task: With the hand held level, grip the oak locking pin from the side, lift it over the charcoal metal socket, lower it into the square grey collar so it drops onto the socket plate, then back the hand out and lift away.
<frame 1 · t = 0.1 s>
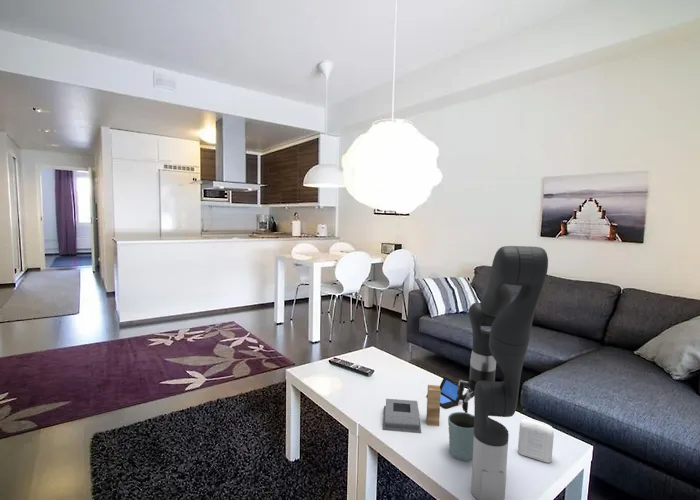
hand: (479, 412, 120), 17 cm above the table, tool pointing down, fingers open, 8 cm apart
teal cup: (462, 453, 126), on the table
oak pin: (432, 422, 145), on the table
photo printer: (534, 456, 126), on the table
handheld game console: (444, 401, 163), on the table
metal socket: (401, 419, 146), on the table
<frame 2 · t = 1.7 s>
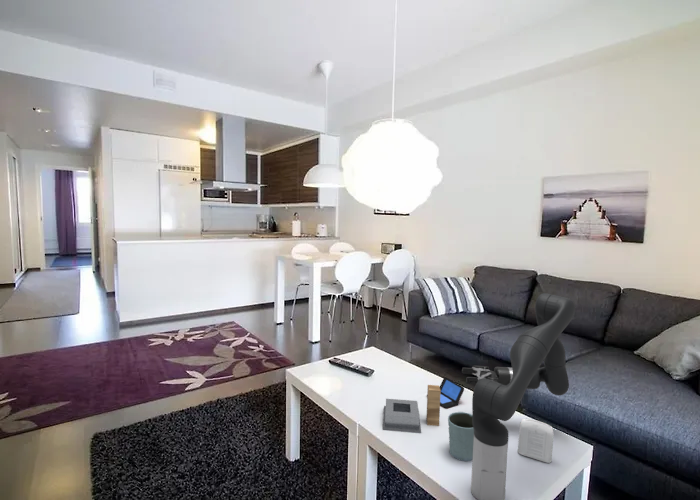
hand: (464, 375, 142), 20 cm above the table, tool horizontal, fingers open, 8 cm apart
nothing on the table moved.
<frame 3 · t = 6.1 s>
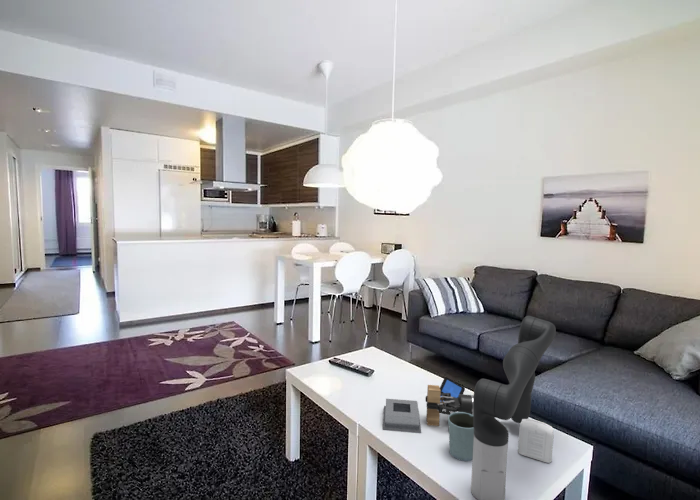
hand: (426, 402, 145), 8 cm above the table, tool horizontal, fingers closed on oak pin, 4 cm apart
oak pin: (432, 422, 145), on the table, touching gripper
everything else where it was.
when the fingers open (10 cm above the table, at t = 11.8 s): oak pin drops 1 cm, resting on metal socket.
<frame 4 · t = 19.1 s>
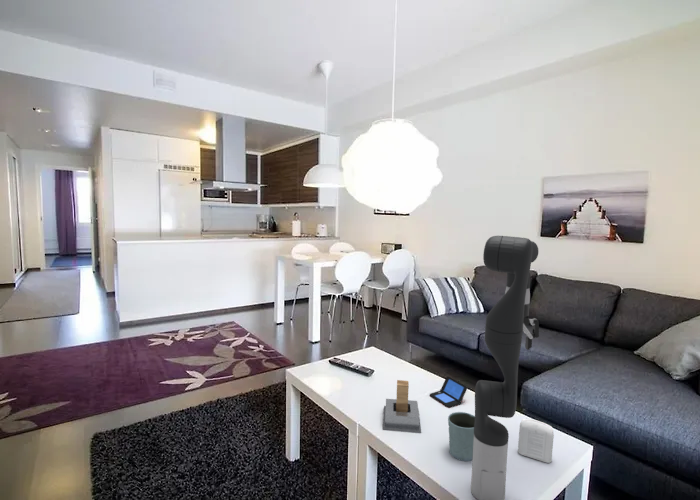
hand: (514, 348, 125), 36 cm above the table, tool pointing down, fingers open, 8 cm apart
oak pin: (401, 417, 146), point 1 cm above the table, touching metal socket
handheld game console: (447, 400, 164), on the table
everything else where it was.
at the end: oak pin 0.0 cm off-centre on the metal socket, point 1.0 cm above the metal socket's base; oak pin tilted 0°; the gripper is holding nothing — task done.
